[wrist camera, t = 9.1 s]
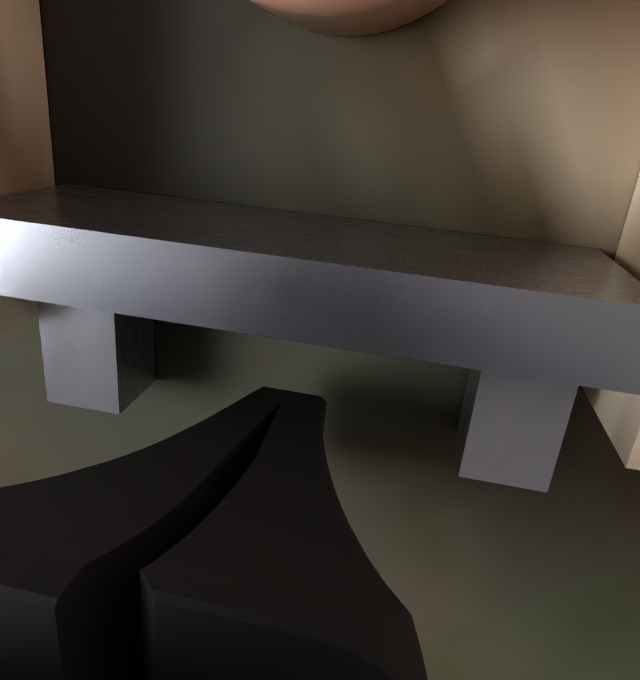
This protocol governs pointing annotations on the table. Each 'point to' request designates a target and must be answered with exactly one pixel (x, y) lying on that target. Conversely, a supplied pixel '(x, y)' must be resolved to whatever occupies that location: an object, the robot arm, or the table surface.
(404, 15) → the terracotta jar
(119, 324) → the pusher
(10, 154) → the beige flat open box
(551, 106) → the table surface
